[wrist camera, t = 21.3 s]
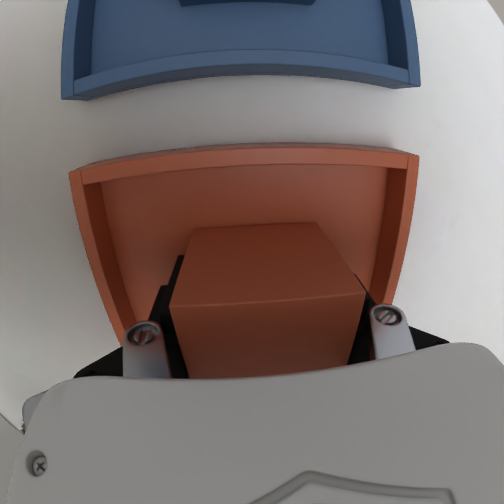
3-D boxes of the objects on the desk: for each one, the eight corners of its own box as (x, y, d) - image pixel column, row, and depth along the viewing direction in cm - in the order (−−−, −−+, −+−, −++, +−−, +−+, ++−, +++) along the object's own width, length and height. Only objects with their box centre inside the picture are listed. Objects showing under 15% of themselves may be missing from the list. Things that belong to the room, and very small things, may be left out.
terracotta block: (207, 324, 13) (200, 410, 9) (193, 228, 11) (168, 306, 6) (308, 317, 13) (335, 398, 9) (316, 222, 11) (367, 292, 7)
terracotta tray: (144, 355, 15) (137, 380, 13) (91, 163, 10) (67, 172, 8) (360, 339, 15) (372, 362, 14) (394, 148, 10) (420, 155, 9)
